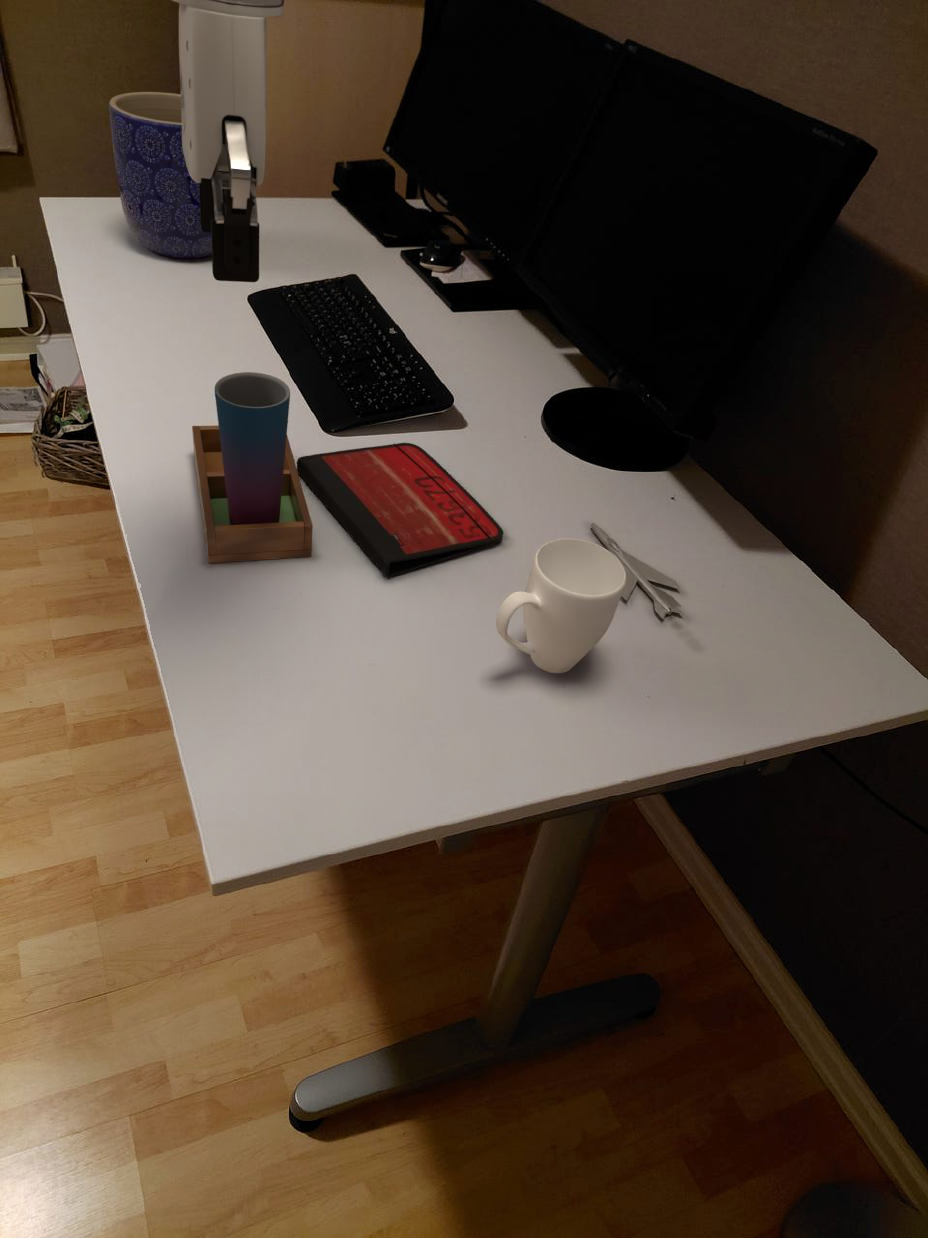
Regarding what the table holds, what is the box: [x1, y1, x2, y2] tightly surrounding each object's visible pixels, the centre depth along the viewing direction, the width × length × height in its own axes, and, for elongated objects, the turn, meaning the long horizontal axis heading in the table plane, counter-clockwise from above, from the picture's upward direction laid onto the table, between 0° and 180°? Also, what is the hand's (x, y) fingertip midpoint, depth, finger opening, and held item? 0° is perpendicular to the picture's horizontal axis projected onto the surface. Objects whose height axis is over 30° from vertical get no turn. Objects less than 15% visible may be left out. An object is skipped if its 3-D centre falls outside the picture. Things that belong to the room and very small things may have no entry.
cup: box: [214, 371, 291, 525], centre depth 83 cm, size 7×7×15 cm
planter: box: [108, 91, 212, 259], centre depth 135 cm, size 18×18×21 cm
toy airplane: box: [590, 522, 699, 646], centre depth 91 cm, size 8×21×2 cm, turn 25°
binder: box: [296, 442, 504, 579], centre depth 95 cm, size 16×2×21 cm
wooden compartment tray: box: [191, 425, 314, 564], centre depth 91 cm, size 10×20×4 cm, turn 17°
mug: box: [495, 537, 626, 674], centre depth 77 cm, size 12×8×11 cm
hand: (228, 254), depth 64 cm, fingers open, 9 cm apart
